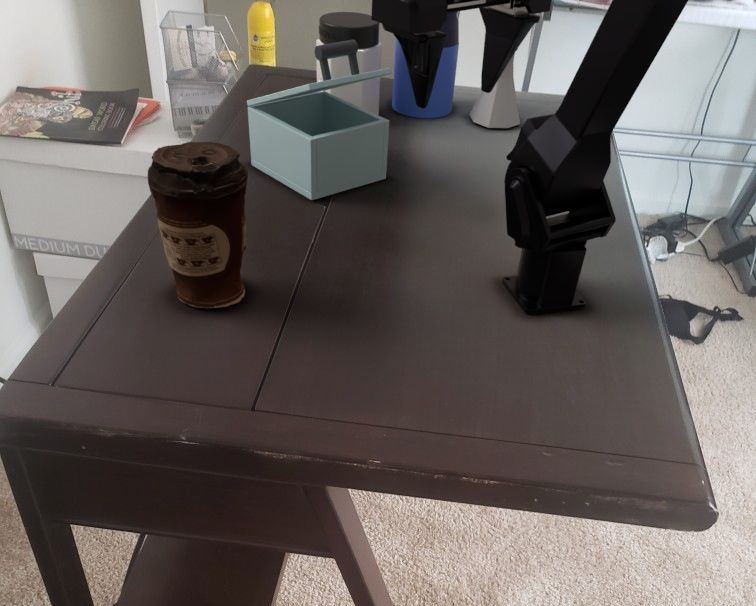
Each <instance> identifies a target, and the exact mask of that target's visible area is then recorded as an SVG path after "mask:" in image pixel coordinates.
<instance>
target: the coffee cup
mask: <svg viewBox="0 0 756 606" xmlns="http://www.w3.org/2000/svg"><path fill="white" fill-rule="evenodd" d="M240 156H241V154H240V152H239V151H238V150H236V149H234V148H233V147H231V146H230V145H228V144H224V143H219V142H215V141H214V142H213V141H187V142H184V143H181V144H172V145H165V146H161V147H158V148H157V149H156V150H154V151H153V153H152V156H151V164H150V166H149V167H148V168H147V185H148V188H149V192H150V194H151V196H152V198H153V199H154V205H155V208H156V219H157V225H158V229H159V234H160V237H161V240H162V245H163V250H164V255H165V259H166V261H167V263H168V264H167V265H168V266H169V267H170V269H171V271H172V274H173V278H174V282H175V291H176V296H177V298H178V299H179V301H180V302H181V303H184V304H186V305H188V306H190V307H194V308H198V309H218V308H225V307H229V306H232V305H235V304H238V303H240V302H241V301H242V299H243V298H245V293H246V290H245V289H246V288H245V285H244V283H243V281H242V279H241V277H242V276H241V275H242V274H241V269H242V263H243V262H242V261H243V255H244V252H245V251H246V248H247V244H246V231H247V218H246V214H245V212H246V211H245V207H246V206H245V203H246V198H245V197H246V194H247V185H248V177H249V176H248V175H249V174H248V173H249V170H248V168H247V166H246V165H245V164H243V163H242V162H241V161H239V158H240Z"/></svg>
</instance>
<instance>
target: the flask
mask: <svg viewBox="0 0 756 606" xmlns="http://www.w3.org/2000/svg"><path fill="white" fill-rule="evenodd" d="M517 51H518V49H517V50H516V52H517ZM516 52H515V53H514V55H513V56H512V58H511V59H510V61H509V63H508V65H507V66H506V68H505V70H504V71H503V73H502V75H501V76H500V78H499V79H498V81H497V83H496V84H495V86H494V88H493V89H492V91H491V92H490V93H486V92H483V91H482V90H481V91H480V93H479V95H478V97H477V99H476V101H475V103H474V105H473V107H472V109H471V111H470V112H469V117H470V119H471V121H472V123H475V124H478V125H480V126H483V127H486V128H488V129H510V128H512V127H515V126H519V125H521V119H520V113H519V108H518V101H517V94H516V88H515V80H514V62H515V54H516Z"/></svg>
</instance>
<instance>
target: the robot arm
mask: <svg viewBox="0 0 756 606" xmlns="http://www.w3.org/2000/svg"><path fill="white" fill-rule="evenodd" d="M552 1H553V0H371V20H373V21H376V22H379V23H380V24H381V27H382V28H383V30H384V31H386V32H387V33H391V34H392V35H393V36H394V38H395V40H396V39H397V40H398V42H399V43H400V45H401V48H402V50H403V53H404V56H405V60H406V63H407V67H408V71H409V76H410V80H411V84H412V89H413V93H414V97H415V101H416V105H417V106H418V107H420V108H423V109H424V108H426V107H427V104H428V101H429V99H430V96H431V93H432V89H433V85H434V81H435V77H436V73H437V70H438V66H439V62H440V58H441V55H442V51H443V47H444V43H445V39H446V33H443V32H440V31H438V30H440V28H441V27H442V25H443V24H444V22H445V21H446V19H447V13H451V12H457V11H460V12H463V11H470V10H475V9H476V10H477V9H478V10H479V13H480V16H481V19H482V21H483V25H484V28H485V33H484V43H483V53H482V54H483V55H482V63H481V75H480V79H481V81H480V82H481V83H480V89H481V91H483V92H486V93H490V92H491V91H492V89H493V88H494V86H495V84H496V83H497V81H498V79H499V78H500V76H501V75H502V73H503V71H504V70H505V68H506V66H507V65H508V63H509V61H510V59H511V58H512V56H513V55H514V53H515V54H516V52H517V51H518V49H519V47H520V46H521V44H522V43H523V41H524V40H525V38H526V37H527V35H528V34H529V33H530V31H531V29H532V28H533V26H535V24H538V23H539V22H540V20H541V15H539V14H543V13H548V12H550V11H551V7H552ZM688 2H689V0H611V2H610V4H609V6H608V8H607V10H606V12H605V13H604V16H603V18H602V20H601V22H600V23H599V24H600V25H599V26H598V28H597V29H596V32H595V34H594V36H593V39H592V40H591V42H590V44H589V46H588V48H587V50H586V52H585V54H584V57H583V59H582V61H581V63H580V64H579V67H578V69H577V71H576V72H575V75H574V77H573V79H572V81H571V83H570V84H569V86H568V89H567V91H566V93H565V94H564V97H563V99H562V100H561V103H560V105H559V107H558V108H557V110H556V111H555V112H554V113H550V114H546V115H545V114H544V115H540V116H535V117H527V118H526V120H525V121H524V123H523V124H522V126H521V128H520V130H519V133H518V137H517V140H516V143H515V145H514V146H513V148H512V150H511V151H510V152H508V154H507V155H506V156H505V157H506V160H507V161H510V162H509V164H508V166H507V168H506V171H505V175H504V201H505V219H506V235H507V236H508V237H510V238H511V239H513V241H514V246H515V247H516V248H518V249H521V252H520V258H519V262H518V268H517V275H509V276H503V277H502V281H501V283H502V285H503V286H504V287H505V289H506V290H507V291H508V293H509V294H510V295H511V296H512V297H513V299H514V300H515V302H516V303H517V304H518V306H519V307H520V308H521V310H522V311H523V312H524V313H525V314H527V315H528V314H531V315H532V314H541V313H542V314H543V313H551V312H559V311H560V312H561V311H570V310H578V309H584V308H586V306H587V301H586V300H585V298H584V297H583V296H582V295H581V293H579V292H578V290H577V288H578V285H579V284H578V283H579V281H580V276H581V273H582V270H583V265H584V261H585V258H586V254H587V251H588V249H587V247H586V246H587V243H588V241H590V240H594V239H598V238H604V237H607V236H608V234H609V232H610V231H611V229H612V228H613V226H614V224H616V220H617V219H616V215H615V212H614V208H613V206H612V205H613V204H612V203H611V199H610V196H609V194H608V190H607V187H606V184H605V182H604V180H605V177H606V175H607V173H608V170H609V168H610V166H611V163H612V133H613V131H614V129H615V127H616V126H617V124H618V122H619V120H620V119H621V117H622V115H623V114H624V112H625V111H626V108H627V107H628V105H629V103H630V102H631V100H632V98H633V96H634V95H635V93H636V91H637V89H638V88H639V86H640V84H641V83H642V81H643V79H644V78H645V76H646V75H647V72H648V71H649V69H650V68H651V66H652V64H653V62H654V60H655V59H656V57H657V56H658V53H660V50H661V48H662V47H663V45H664V43H665V42H666V40H667V38H668V36H669V34H670V33H671V31H672V30H673V28H674V26H675V24H676V22H677V21H678V19H679V17H680V16H681V14H682V12H683V11H684V8H685V7H686V5H687V4H688ZM516 50H517V51H516ZM514 56H515V55H514Z"/></svg>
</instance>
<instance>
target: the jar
mask: <svg viewBox="0 0 756 606" xmlns="http://www.w3.org/2000/svg"><path fill="white" fill-rule="evenodd" d="M371 16H372V14H371V15H370V14H367V13H362V12H354V11H352V12H351V11H333V12H329V13H324V14H322V15H321V16H320V17H319V21H318V23H319V25H318V34H319V35H318V36H319V38H317V39H316V41H315V43H316V45H315V47H316V46H318V45H324V44H330V43H336V42H342V41H348V40H355V41H356V42H357V45H358V51H357V53H356V56H357V62H358V67H359V73H360V74H361V73H366V72H371V71H376V70H381V68H382V50H383V44H382V43H381V42H380V24H381V23H379V22H376V21H373V20H371ZM328 64H329V70H330V75H331V79H336V78H341V77H346V76H351V70H350V64H349V59H348V56H343V57H337V58H332V59H328ZM321 81H323V77H322V72H321V67H320V62H319V60H317V59H316V82H321ZM324 91H326V92H328V93H330V94H332V95H334V96H337V97H339V98H341V99H343V100H345V101H348V102H350V103H352V104H354V105H356V106H358V107H361V108H363V109H365V110H367V111H369V112H372V113H374V114H376V115H378V116H380V115H379V113H380V92H381V76H380V77H376V78H372V79H368V80H364V81H360V82H356V83H352V84H348V85H344V86H340V87H336V88H332V89H328V90H324ZM320 92H322V91H320Z"/></svg>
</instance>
